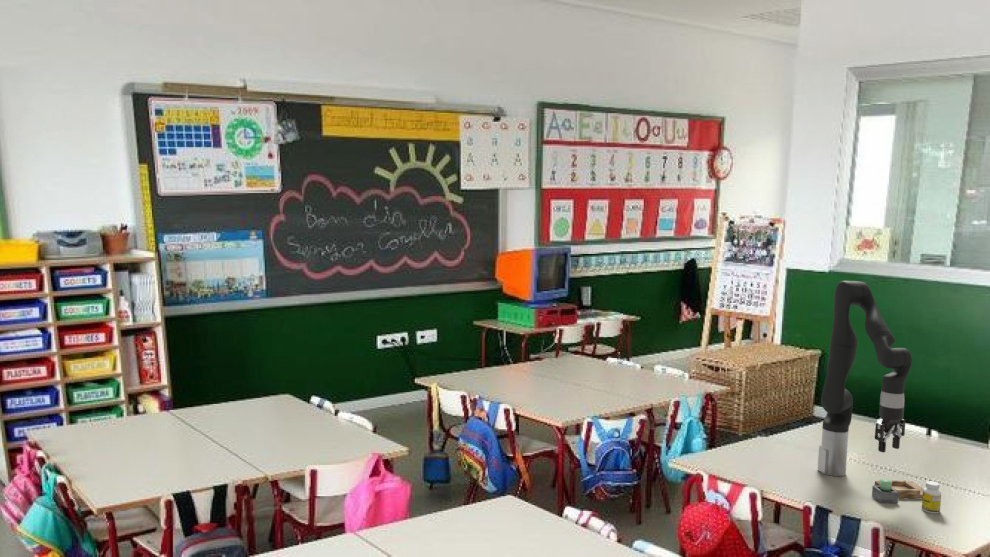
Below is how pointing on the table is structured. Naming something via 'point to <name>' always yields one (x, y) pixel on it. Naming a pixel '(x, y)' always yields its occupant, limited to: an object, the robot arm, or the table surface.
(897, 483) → the pallet board
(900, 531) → the table surface
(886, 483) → the button
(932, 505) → the supplement bottle
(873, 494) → the button box
